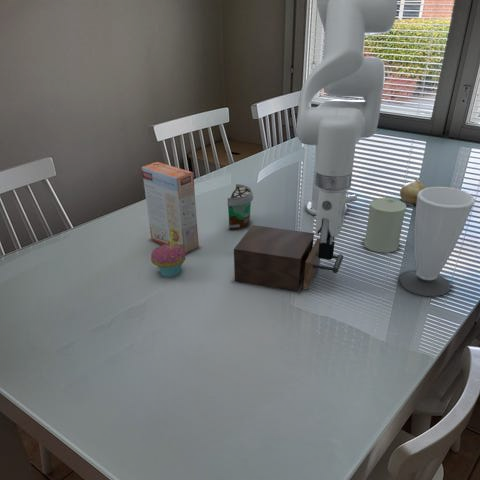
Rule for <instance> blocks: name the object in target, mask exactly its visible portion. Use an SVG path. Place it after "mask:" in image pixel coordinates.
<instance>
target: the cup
mask: <svg viewBox="0 0 480 480" xmlns="http://www.w3.org/2000/svg"><path fill="white" fill-rule="evenodd" d="M475 201H476V199H475V198H474V196H473V195H472V194H471V193H469V192H467V191H465V190H462V189H458V188H455V187H449V186H429V187H425V189H423V190H421V191H420V192H419V193H418V195H417V204H415V205H416V206H415V207H416V208H415V219H414V239H413V241H414V248H413V249H414V265H415V270H413V271H408V272H405V273H404V274H402V275H401V276H400V278H399V282H400V285H401V286H402V287H403V288H404V289H405V290H406V291H408V292H410V293H411V294H414V295H418V296H422V297H431V298H432V297H433V298H435V297H440V296H444V295H446V294H448V293H449V292H450V290H451V287H452V286H451V284H450V282H449V280H447V279H446V278H445V277H444V276H442V275H440V273H441V272H442V270H443V269H444V267H445V266H446V264H447V263H448V260H449V258H451V257H450V256H451V255H452V253H453V251H454V249H455V248H456V245H457V243H458V241H459V239H460V237H461V235H462V233H463V231H464V228H465V226H466V224H467V221H468V219H469V216H470V214H471V211H472V209H473V206H474V204H475Z"/></svg>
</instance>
